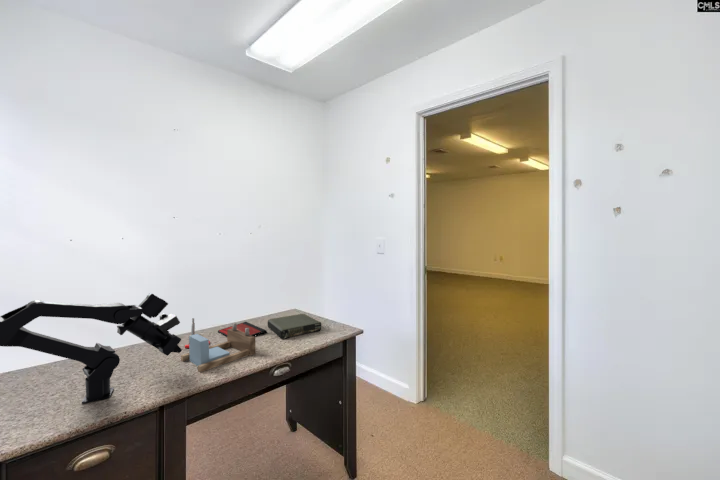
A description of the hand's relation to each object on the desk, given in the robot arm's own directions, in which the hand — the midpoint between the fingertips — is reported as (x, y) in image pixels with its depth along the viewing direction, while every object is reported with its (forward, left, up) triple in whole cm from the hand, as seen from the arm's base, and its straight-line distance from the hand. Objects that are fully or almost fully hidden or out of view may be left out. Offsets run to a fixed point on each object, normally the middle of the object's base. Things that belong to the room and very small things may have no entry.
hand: (180, 351), depth 112 cm
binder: (+31, -25, -7) cm, 41 cm away
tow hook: (+23, -6, -7) cm, 25 cm away
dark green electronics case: (+23, -49, -7) cm, 55 cm away
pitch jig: (+5, -13, -7) cm, 15 cm away
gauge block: (+4, -10, -7) cm, 12 cm away
